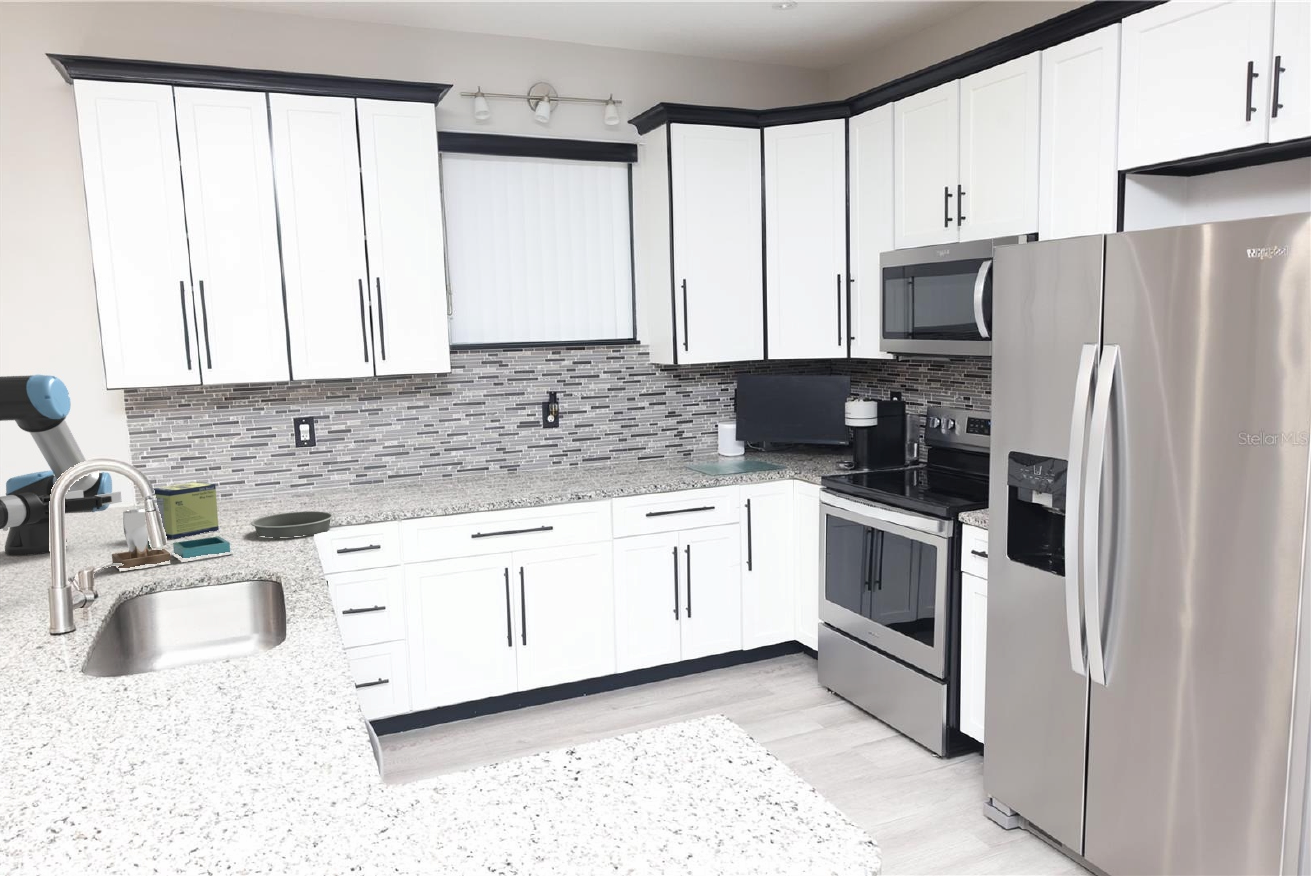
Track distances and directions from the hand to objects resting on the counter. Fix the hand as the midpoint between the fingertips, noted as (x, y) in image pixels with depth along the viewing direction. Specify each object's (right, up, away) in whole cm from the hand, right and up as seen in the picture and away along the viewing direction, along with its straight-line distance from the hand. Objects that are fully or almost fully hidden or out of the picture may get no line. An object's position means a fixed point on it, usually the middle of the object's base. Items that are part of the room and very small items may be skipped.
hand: (101, 495), depth 222 cm
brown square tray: (+4, -20, +11) cm, 23 cm away
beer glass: (+4, -20, +11) cm, 23 cm away
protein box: (-6, -16, +52) cm, 55 cm away
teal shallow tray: (+15, -18, +21) cm, 32 cm away
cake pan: (+28, -15, +52) cm, 61 cm away
